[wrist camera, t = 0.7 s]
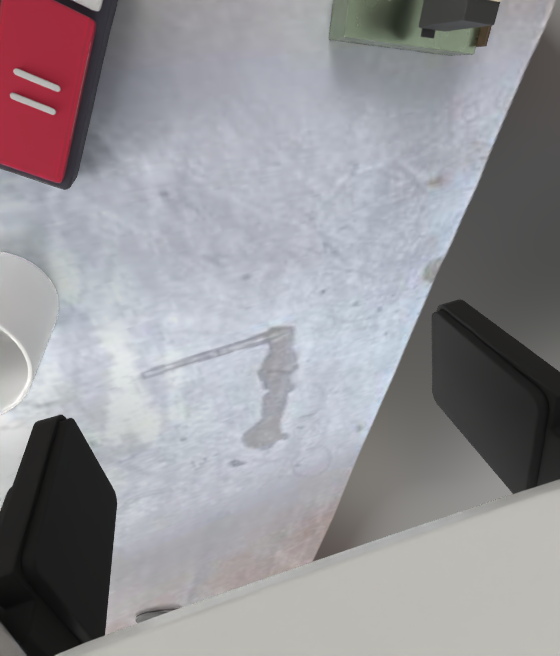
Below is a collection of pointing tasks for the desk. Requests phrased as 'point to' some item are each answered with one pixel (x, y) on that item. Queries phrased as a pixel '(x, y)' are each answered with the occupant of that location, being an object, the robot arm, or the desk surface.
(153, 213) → the desk surface
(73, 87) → the calculator
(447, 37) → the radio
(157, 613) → the oval pebble
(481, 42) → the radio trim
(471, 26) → the slider
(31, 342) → the mug
